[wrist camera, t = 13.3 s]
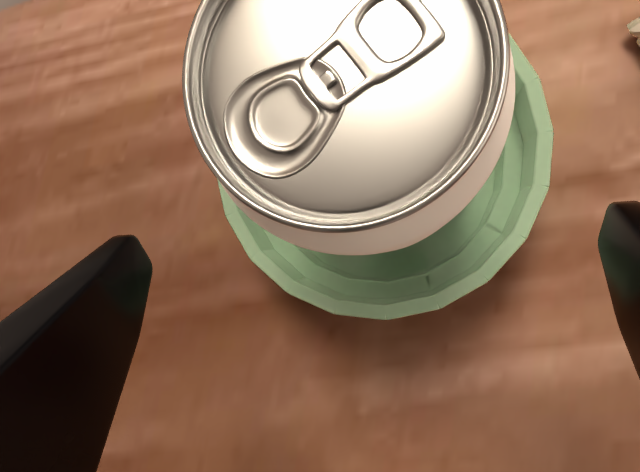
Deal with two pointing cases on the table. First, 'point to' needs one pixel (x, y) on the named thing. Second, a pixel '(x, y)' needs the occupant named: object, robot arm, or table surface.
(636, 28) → the granola bar
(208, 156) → the can
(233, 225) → the bowl
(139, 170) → the table surface
